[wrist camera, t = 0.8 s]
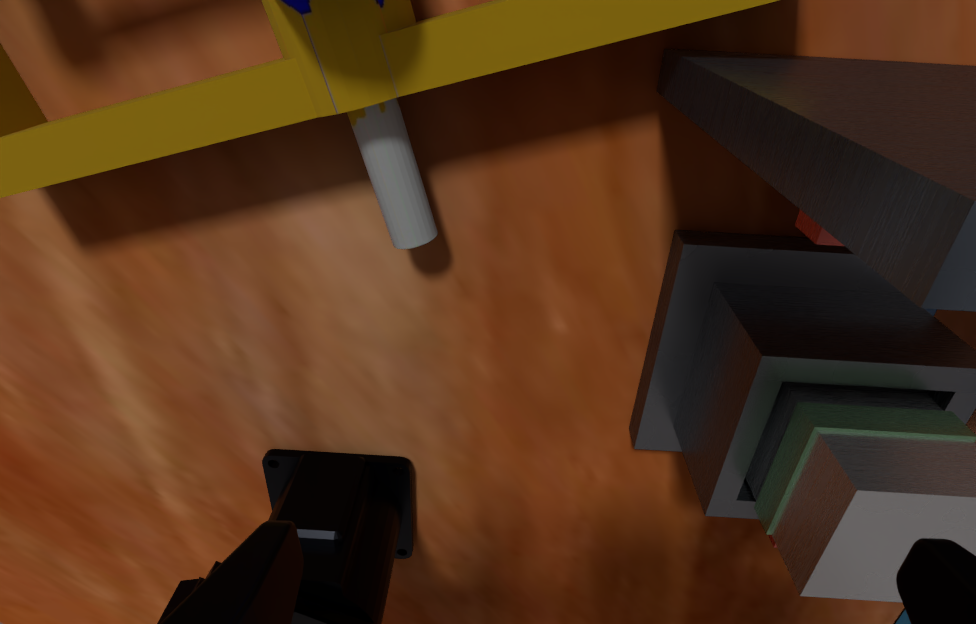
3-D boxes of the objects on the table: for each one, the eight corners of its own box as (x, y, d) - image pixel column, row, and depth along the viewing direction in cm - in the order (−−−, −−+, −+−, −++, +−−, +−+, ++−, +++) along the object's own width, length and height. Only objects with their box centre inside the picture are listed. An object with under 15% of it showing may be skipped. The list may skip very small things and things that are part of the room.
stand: (877, 443, 24) (1195, 851, 13) (593, 426, 24) (664, 816, 13) (1076, 71, 17) (2234, 274, 5) (664, 48, 17) (974, 201, 6)
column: (827, 427, 21) (953, 607, 15) (714, 420, 21) (795, 598, 15) (872, 331, 19) (1039, 498, 13) (745, 324, 19) (854, 487, 13)
